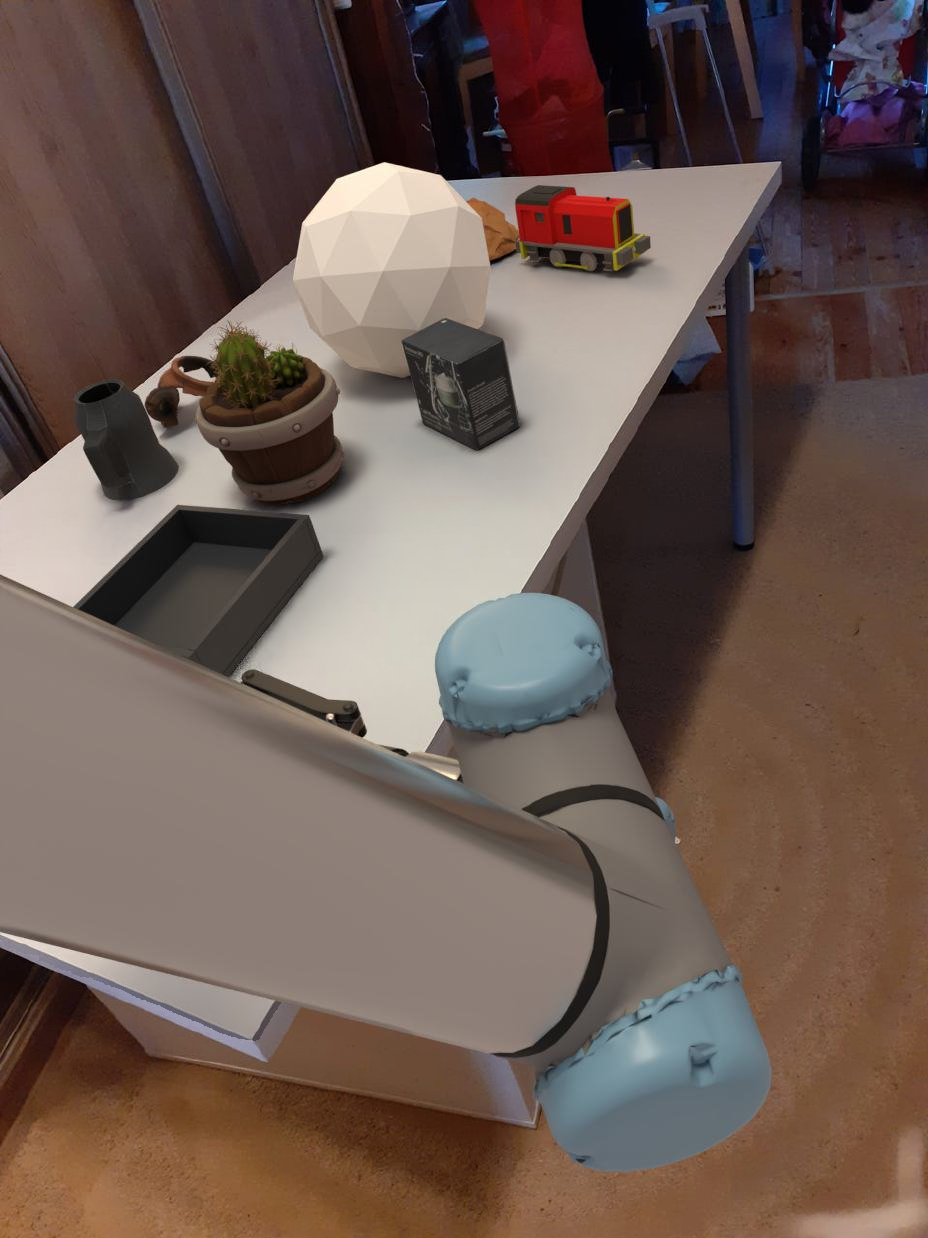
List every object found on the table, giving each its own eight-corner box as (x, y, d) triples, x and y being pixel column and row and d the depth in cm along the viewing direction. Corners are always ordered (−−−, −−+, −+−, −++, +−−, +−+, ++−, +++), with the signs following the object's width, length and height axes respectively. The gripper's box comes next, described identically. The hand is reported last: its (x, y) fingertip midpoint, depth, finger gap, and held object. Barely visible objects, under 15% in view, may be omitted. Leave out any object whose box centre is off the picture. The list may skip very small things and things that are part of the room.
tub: (211, 700, 75) (189, 657, 72) (70, 674, 81) (44, 634, 78) (323, 555, 88) (309, 514, 85) (195, 543, 94) (177, 504, 91)
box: (419, 425, 105) (398, 338, 98) (464, 401, 107) (446, 315, 101) (476, 453, 98) (457, 361, 91) (523, 426, 100) (507, 335, 93)
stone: (516, 244, 152) (529, 187, 144) (514, 299, 143) (529, 242, 135) (427, 228, 150) (436, 169, 142) (420, 282, 142) (429, 223, 134)
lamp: (291, 393, 104) (261, 154, 96) (339, 371, 137) (320, 191, 129) (496, 379, 102) (483, 136, 95) (495, 360, 136) (485, 178, 128)
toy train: (546, 249, 141) (537, 180, 134) (652, 261, 129) (648, 186, 123) (518, 266, 137) (507, 196, 131) (623, 280, 126) (617, 204, 119)
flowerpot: (244, 456, 107) (178, 288, 94) (371, 438, 104) (320, 263, 92) (211, 528, 96) (131, 349, 83) (352, 510, 93) (292, 322, 81)
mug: (115, 464, 112) (73, 380, 105) (186, 452, 111) (148, 365, 104) (85, 519, 103) (36, 431, 96) (161, 506, 102) (118, 416, 94)
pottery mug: (183, 400, 124) (193, 344, 119) (239, 433, 123) (252, 378, 118) (120, 423, 114) (128, 363, 110) (180, 460, 113) (191, 401, 108)
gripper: (327, 1023, 48) (18, 920, 57) (476, 723, 62) (210, 678, 71) (283, 948, 43) (-48, 848, 52) (455, 641, 58) (173, 604, 67)
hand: (102, 750), depth 62 cm, fingers closed on container, 9 cm apart
